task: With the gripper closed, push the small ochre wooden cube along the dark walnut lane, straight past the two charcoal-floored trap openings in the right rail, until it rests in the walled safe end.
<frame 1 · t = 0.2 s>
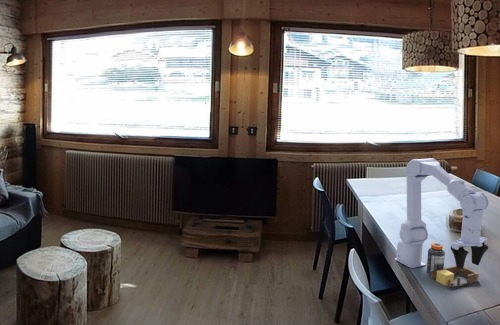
hand: (467, 265, 133), 10 cm above the table, fingers open, 7 cm apart
ochre block: (444, 282, 142), on the table
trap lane: (454, 279, 144), on the table
pill bottle: (434, 272, 151), on the table
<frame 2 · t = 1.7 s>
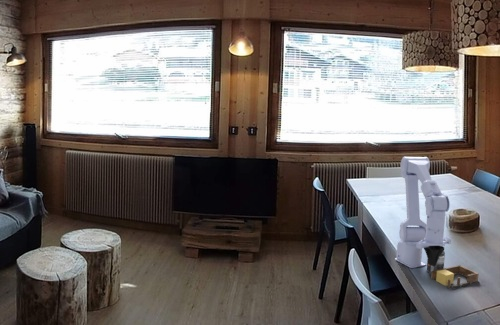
hand: (432, 264, 138), 8 cm above the table, fingers closed
nothing on the table moved.
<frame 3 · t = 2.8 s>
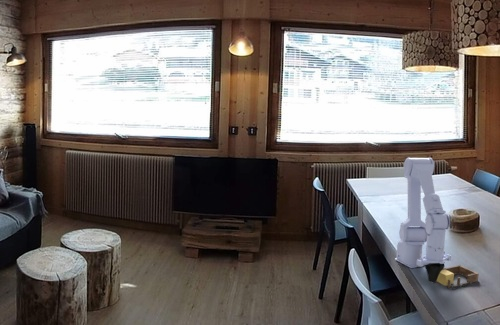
hand: (432, 281, 140), 1 cm above the table, fingers closed
nothing on the table moved.
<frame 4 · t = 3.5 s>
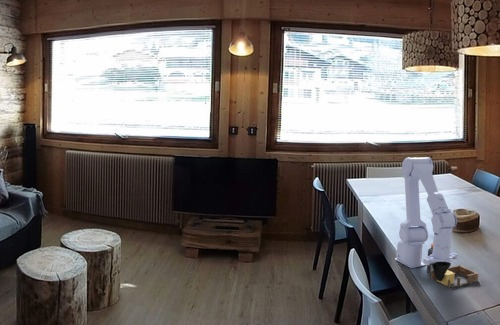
hand: (438, 280, 141), 1 cm above the table, fingers closed
ochre block: (445, 282, 143), on the table, touching gripper
everything else where it was.
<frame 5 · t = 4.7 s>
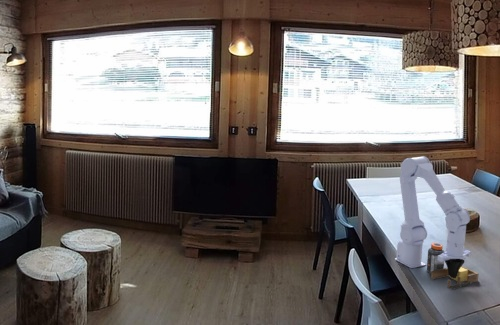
hand: (452, 276, 144), 1 cm above the table, fingers closed
ochre block: (458, 278, 145), on the table, touching gripper
everything else where it was.
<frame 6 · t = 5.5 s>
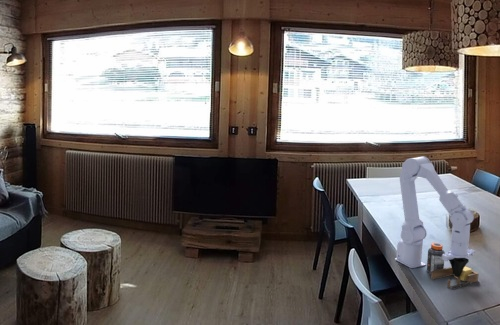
hand: (456, 275, 144), 1 cm above the table, fingers closed
ochre block: (462, 277, 146), on the table, touching gripper
everything else where it was.
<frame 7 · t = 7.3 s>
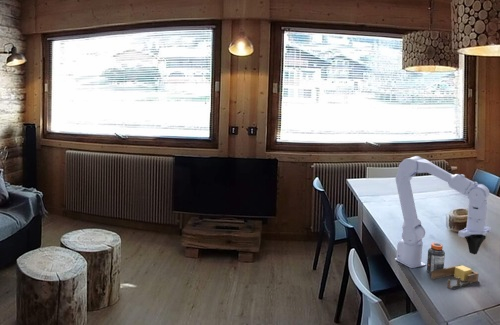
hand: (473, 253, 143), 11 cm above the table, fingers closed
ochre block: (462, 278, 146), on the table
everything else where it was.
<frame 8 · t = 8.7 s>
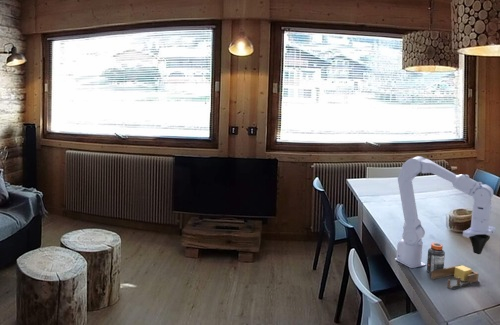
hand: (477, 253, 143), 10 cm above the table, fingers closed
nothing on the table moved.
at the end: ochre block 0.4 cm from the target spot, on the table; ochre block tilted 0° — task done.
